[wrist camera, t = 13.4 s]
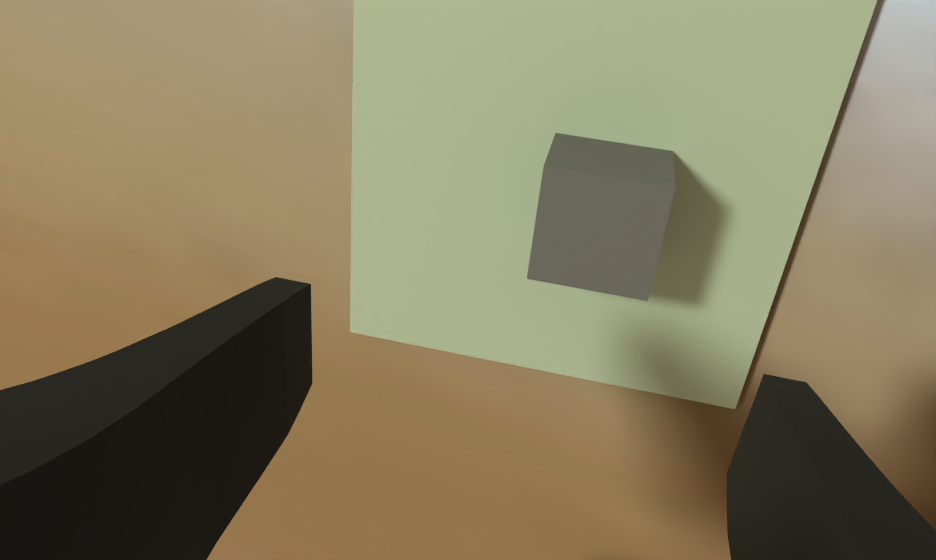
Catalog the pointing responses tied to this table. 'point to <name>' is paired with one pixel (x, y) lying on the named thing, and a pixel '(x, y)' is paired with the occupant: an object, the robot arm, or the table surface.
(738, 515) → the robot arm
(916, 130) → the table surface
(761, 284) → the toolbox lid
